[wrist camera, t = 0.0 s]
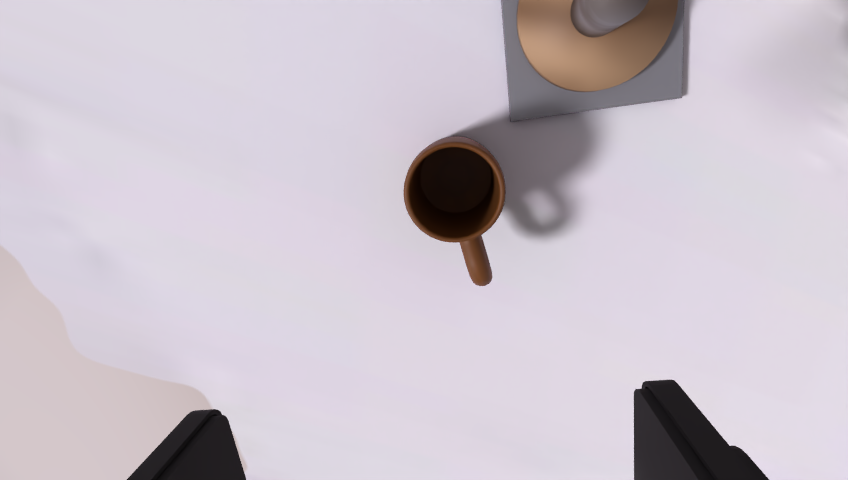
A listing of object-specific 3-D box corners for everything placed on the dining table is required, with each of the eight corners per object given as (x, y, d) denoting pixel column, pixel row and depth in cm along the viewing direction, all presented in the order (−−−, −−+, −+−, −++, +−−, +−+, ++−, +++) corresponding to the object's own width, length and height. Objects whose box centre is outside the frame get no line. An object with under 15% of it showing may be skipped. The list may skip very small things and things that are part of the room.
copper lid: (510, -58, 33) (522, -98, 27) (672, -88, 31) (722, -138, 25) (521, 101, 36) (534, 97, 30) (669, 80, 34) (713, 72, 28)
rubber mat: (495, -73, 33) (496, -78, 32) (681, -109, 31) (687, -115, 31) (510, 121, 37) (511, 121, 36) (676, 98, 35) (681, 97, 35)
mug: (518, 246, 40) (535, 282, 31) (443, 267, 41) (439, 308, 32) (483, 123, 37) (490, 124, 28) (403, 150, 38) (386, 159, 29)
